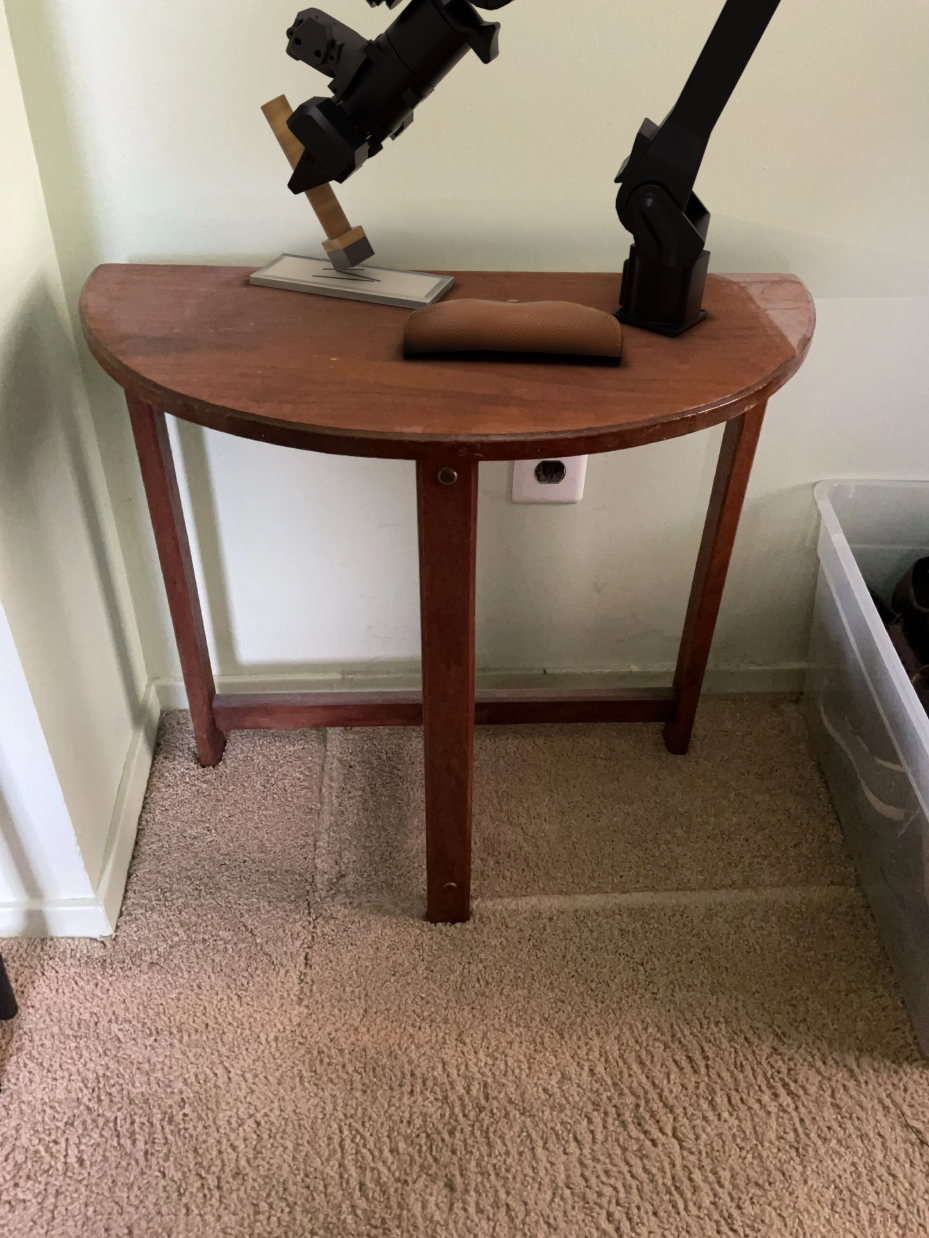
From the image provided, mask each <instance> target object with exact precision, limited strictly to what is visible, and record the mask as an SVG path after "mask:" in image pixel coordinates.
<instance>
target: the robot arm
mask: <svg viewBox="0 0 929 1238" xmlns="http://www.w3.org/2000/svg"><path fill="white" fill-rule="evenodd" d="M364 1H365V2H366V3H367V4H368V6H369V7H370V8H371V9H375V8H376V7H380V6H381V5H382V4H383V3H384V4H385V6H386V7H387V8H388V10H389V11H392V10H394V9H395V8H396V7H397V6H399V5H400V4H401V3H402V2H403V1H404V0H364ZM781 1H782V0H725V2H724V4H723V7H722V8H721V11H720V12H719V14H718V16H717V18H716V21H715V22H714V24H713V26H712V28H711V31H710V33H709V35H708V36H707V38H706V41H705V43H704V45H703V47H702V49H701V51H700V53H699V55H698V57H697V59H696V61H695V62H694V65H693V67H692V69H691V71H690V73H689V75H688V77H687V79H686V81H685V83H684V85H683V87H682V89H681V91H680V93H679V96H678V97H677V99H676V101H675V102H674V104H673V106H672V107H671V108H670V110H669V112H668V113H667V114H666V116H665V117H664V118H663V119H662V121H661V122H660V123H659V125H658V124H656V123H655V122H654V121H653V120H651V119H650V118H649V117H644V119H643V120H642V123H641V125H640V127H639V129H638V131H637V133H636V135H635V138H634V141H633V144H632V148H631V151H630V154H629V155H628V156H626V157H625V159H623V161H622V163H621V165H620V167H619V169H618V171H617V173H616V174H615V177H614V179H613V183H614V184H620V186H619V187H618V190H617V194H616V197H615V203H614V204H615V206H614V207H615V211H616V214H617V218H618V221H619V223H620V224H621V225H622V227H623V228H624V230H625V231H627V232H628V233H630V234H631V235H632V238H633V242H632V243H630V245H629V252H628V258H626V259H624V260H623V262H622V263H623V264H622V272H621V280H620V288H619V297H618V305H619V306H620V307H619V308H618V309H615V310H614V311H613V312H612V315H613V316H614V317H615V318H617V320H618V321H621V322H625V323H627V324H631V325H635V326H637V327H641V328H644V329H647V330H651V331H655V332H658V333H662V334H665V335H668V336H678V335H680V334H681V333H683V332H684V331H686V330H687V329H690V328H691V327H692V326H694V325H696V324H697V323H698V322H700V321H702V320H703V319H705V318H707V317H708V315H709V310H708V309H706V308H702V304H703V297H704V292H705V287H706V282H707V281H706V280H707V275H708V270H709V264H710V259H711V251H710V250H707V249H705V246H706V241H707V237H708V232H709V227H710V221H711V218H712V217H711V216H712V215H711V212H710V211H709V210H708V208H707V207H706V205H705V204H704V202H703V201H702V200H701V199H700V198H699V196H698V194H696V192H695V191H694V190H693V188H694V187H695V183H696V180H697V176H698V174H699V170H700V168H701V165H702V162H703V159H704V156H705V152H706V150H707V147H708V144H709V141H710V138H711V135H712V133H713V130H714V128H715V127H716V124H717V123H718V121H719V119H720V117H721V115H722V113H723V111H724V109H725V107H726V106H727V103H728V102H729V100H730V98H731V97H732V94H733V92H734V90H735V88H736V86H737V85H738V83H739V81H740V80H741V77H742V76H743V74H744V71H745V70H746V68H747V66H748V64H749V62H750V60H751V58H752V56H753V54H754V52H755V51H756V49H757V47H758V45H759V43H760V41H761V39H762V38H763V35H764V34H765V32H766V30H767V28H768V26H769V24H770V22H771V20H772V18H773V17H774V15H775V13H776V11H777V10H778V7H779V5H780V4H781ZM512 2H515V0H410V2H408V4H407V5H406V6H405V7H404V8H403V10H401V12H400V13H399V14H398V15H397V16H396V18H395V19H394V20H393V21H392V22H391V23H390V24H389V26H388V27H387V28H386V29H385V30H384V32H381V33H380V34H378V35H377V36H376V37H375V38H374V39H372V38H370V39H367V38H366V37H364V36H362V35H361V34H360V33H359V32H357V31H356V30H355V29H353V28H351V27H350V26H348V25H346V24H345V23H343V22H342V21H340V20H339V19H336V18H335V17H333V16H332V15H330V14H329V13H327V12H325V11H323V10H321V9H319V8H318V7H313V6H311V7H308V8H306V9H302V10H300V11H298V12H297V13H296V17H295V18H294V22H293V23H292V25H291V26H289V27H287V29H286V30H285V35H286V38H287V39H288V41H287V42H288V43H287V45H286V48H285V53H286V55H287V56H289V57H290V58H291V59H293V60H295V61H296V62H303V63H304V64H306V65H307V66H309V67H311V68H312V69H314V70H316V71H317V72H319V73H321V74H322V75H324V76H326V77H328V78H330V79H332V80H330V82H329V83H328V84H327V86H326V88H328V89H329V90H330V92H331V94H333V95H332V96H331V97H329V96H317V95H314V96H312V97H310V98H309V99H306V100H305V101H304V102H302V103H300V104H299V105H298V106H297V107H296V109H295V110H294V111H293V113H292V115H291V116H290V117H289V118H288V119H287V120H286V123H287V126H288V129H289V130H290V131H291V132H292V133H293V135H294V136H295V137H296V138H297V139H298V140H299V141H300V143H301V144H302V145H303V146H304V147H305V148H304V151H303V153H302V155H301V157H300V159H299V161H298V163H297V165H296V167H295V170H294V171H293V172H292V174H291V176H290V178H289V180H288V182H287V185H286V187H287V188H288V189H289V191H290V192H291V193H292V194H293V195H294V196H297V195H299V194H303V193H304V192H305V191H307V190H310V189H312V188H315V187H318V186H320V185H323V184H325V183H328V182H329V183H330V182H336V183H337V184H339V185H342V184H343V183H345V182H346V181H347V180H348V179H350V178H351V177H352V176H353V175H354V174H355V173H356V172H358V171H359V170H360V169H361V168H362V167H363V166H364V165H363V164H365V162H366V161H367V160H369V159H371V158H373V157H375V156H376V155H378V154H380V152H381V151H383V150H384V146H383V143H384V142H385V141H386V140H387V139H388V138H390V139H391V141H392V142H394V141H395V140H396V139H397V138H399V137H400V136H401V135H402V134H403V133H404V132H405V131H406V130H407V129H408V128H409V127H410V126H411V125H412V123H414V120H415V119H414V113H415V112H414V110H415V109H416V108H417V107H418V106H420V104H421V103H422V102H424V101H425V100H426V99H428V98H429V97H430V96H431V94H433V93H434V92H435V90H436V89H435V88H436V87H437V86H438V85H439V84H440V83H441V81H442V80H443V79H445V77H447V75H448V74H449V73H450V72H451V71H452V70H453V69H454V68H455V67H456V66H457V64H458V63H459V62H460V61H462V60H463V58H464V57H465V56H466V55H467V54H468V52H470V50H472V52H473V53H474V54H475V56H476V57H477V58H478V59H479V60H480V62H481V63H482V64H483V65H488V64H490V63H492V61H494V60H495V59H497V58H498V57H499V56H500V48H499V47H500V46H499V34H500V32H501V27H502V24H501V22H499V21H487V20H485V19H484V18H483V17H482V15H481V14H480V12H478V11H477V9H476V8H479V9H482V10H486V11H491V12H492V11H496V10H497V11H498V10H500V9H502V8H504V7H505V6H507V5H510V4H511V3H512Z"/></svg>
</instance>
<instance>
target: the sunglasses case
mask: <svg viewBox="0 0 929 1238" xmlns="http://www.w3.org/2000/svg"><path fill="white" fill-rule="evenodd" d="M403 327H404V328H403V338H402V356H404V355H407V354H408V353H411V354H413V353H415V354H420V353H442V352H446V353H453V352H457V351H463V352H474V351H483V350H488V351H491V352H508V353H544V354H552V355H581V356H599V357H601V356H602V357H609V358H616V357H617V361H619V363H622V358H623V349H624V332H623V328H622V325H621V322H620V320H618V319H617V318H615V317H614V316H613V314H611V313H610V312H607V311H604V310H601V309H597V308H594V307H592V306H588V305H586V304H585V305H584V304H581V303H577V302H570V301H563V300H562V301H561V300H539V301H521V300H519V299H507V300H506V301H504V300H503V301H501V300H495V299H484V298H483V299H482V298H472V297H470V298H457V299H449V300H445V301H440V302H436V303H435V304H432V305H429V306H426V307H423V308H419V309H415V310H414V311H412V312H410V314H409V315H408V316H407V319H406V321H405V324H404V326H403Z"/></svg>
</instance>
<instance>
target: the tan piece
mask: <svg viewBox="0 0 929 1238" xmlns="http://www.w3.org/2000/svg"><path fill="white" fill-rule="evenodd" d="M259 107H260V110H261V111H262V114H263V115H264V118H265V120H266V121H267V123H268V125H269V127H270V129H271V132H272V133H273V135H274V137H275V138H276V139H275V140H276V141H277V142H278V145H279V147H280V148H281V150H282V152H283V154H284V156H285V158H286V160H287V162H288V164H289V165H290V167H291V170H292V171H293V172H294V170H295V167H296V165H297V163H298V161H299V159H300V157H301V155H302V153H303V151H304V148H305V147H304V146H303V145H302V144H301V143H300V141H299V140H298V139H297V138H296V137H295V136H294V135H293V133H292V132H291V131H290V130H289V129H288V126H287V123H286V120H287V119H288V118H289V117H290V116H291V115H292V113H293V112H294V111H293V108H292V106H291V105H290V103H289V100H288V98H287V97H286V94H285V93H282V94H280V95H279V96H276V97H274V98H272V99H270V100H269V101H267V102H266V103H264V104H262V105H261V106H259ZM303 193H304V194H305V197H306V199H307V201H308V202H309V204H310V206H311V208H312V210H313V212H314V214H315V216H316V217H317V220H318V221H319V223H320V226H321V227H322V229H323V231H324V233H325V235H326V237H327V238H326V239H325V240H323V241H321V242H320V244H321V246H322V248H323V250H324V252H325V253H326V255H327V257H328V259H330V261H331V263H332V265H333V267H334V269H335V270H340V269H346V268H352V267H355V266H356V265H358V264H362V263H364V262H365V261H366V260H368V259H369V258H371V257H373V256H375V255H376V252H375V250H374V248H373V247H372V245H371V242H370V240H369V239H368V237H367V234H366V231H365V230H364V228H363V226H362V224H361V225H356V226H353V227H352V225H351V223H350V221H349V219H348V218H347V215H346V213H345V210H343V207H342V206H341V203H340V202H339V199H338V198H337V195H336V193H335V192H334V190H333V187H332V185H331V184H330V182H328V183H325V184H323V185H320V186H318V187H315V188H312V189H310V190H307V191H305V192H303Z"/></svg>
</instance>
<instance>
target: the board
mask: <svg viewBox="0 0 929 1238" xmlns="http://www.w3.org/2000/svg"><path fill="white" fill-rule="evenodd" d="M249 281H250V285H256V286H264V287H269V288H276V289H283V290H290V291H296V292H301V293H309V294H316V295H322V296H328V297H334V298H335V297H336V298H340V299H341V298H342V299H349V300H355V301H362V302H367V303H368V302H369V303H375V304H380V305H388V306H394V307H401V308H409V309H415V310H417V309H419V308H423V307H426V306H429V305H432V304H436V303H438V301H439V300H440V299H441V298H443V296H444V295H445V294H446V293H447V292H449V290H450V289H451V288H452V287H453V286H454V276H451V275H441V274H436V273H427V272H420V271H414V270H407V269H406V270H405V269H399V268H393V267H386V266H385V267H384V266H378V265H371V264H365V263H360V264H358V265H356V266H355V267H352V268H346V269H340V270H335V269H334V267H333V265H332V263H331V261H330V259H329V258H322V257H316V256H308V255H300V254H293V253H286V252H283V253H281V254H279V255H278V256H277V257H275V258H274V259H272V260H270V261H269V262H268V263H267V264H265V265H263V266H262V267H261V268H259V269H258V270H256V271H255V272H253V273H251V274H250V275H249Z"/></svg>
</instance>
